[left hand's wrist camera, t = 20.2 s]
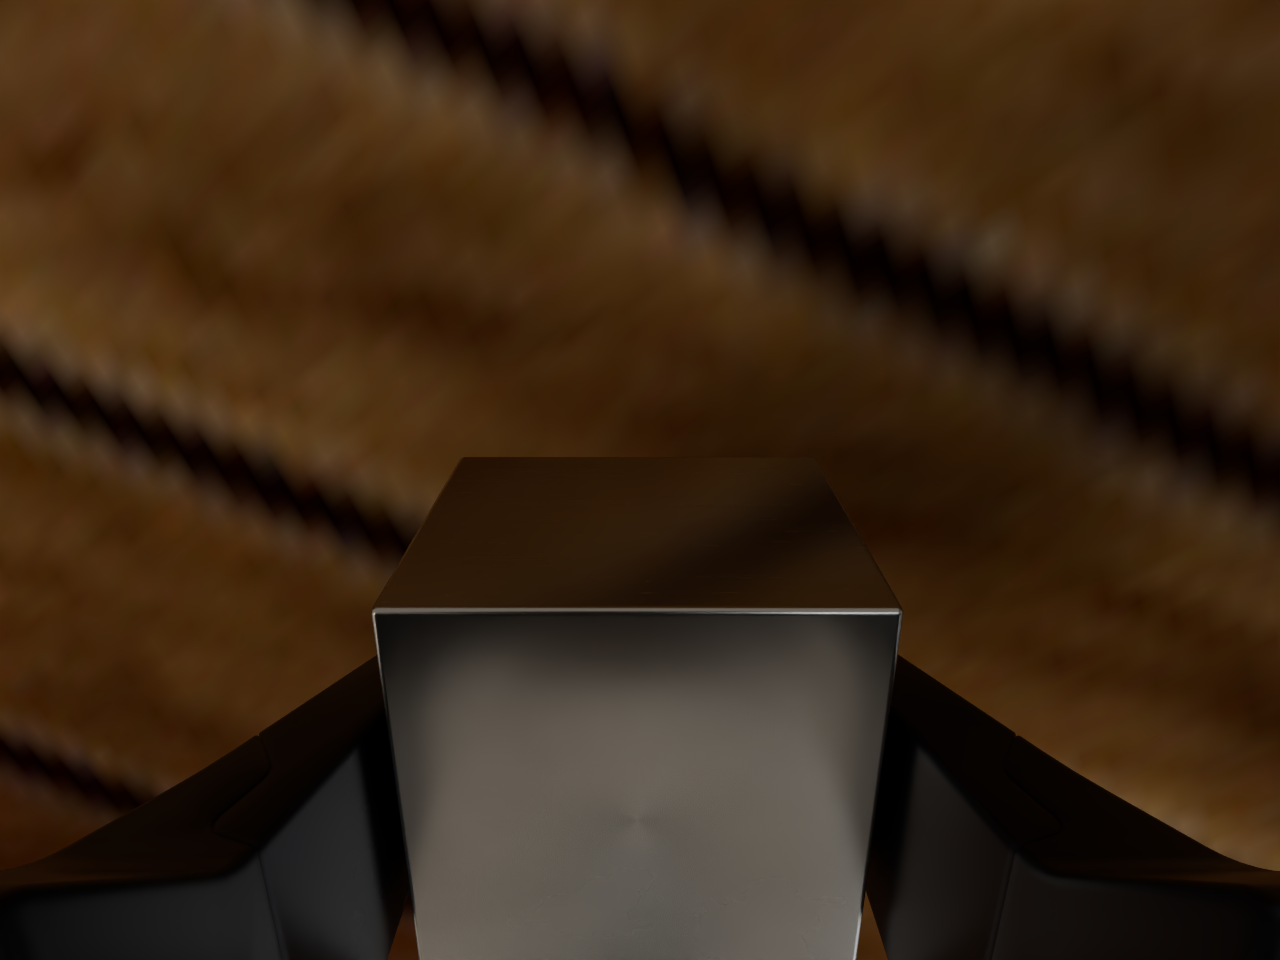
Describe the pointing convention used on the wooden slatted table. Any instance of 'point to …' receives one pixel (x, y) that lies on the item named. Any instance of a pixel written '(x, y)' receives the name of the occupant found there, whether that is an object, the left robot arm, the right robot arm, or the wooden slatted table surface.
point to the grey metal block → (637, 710)
